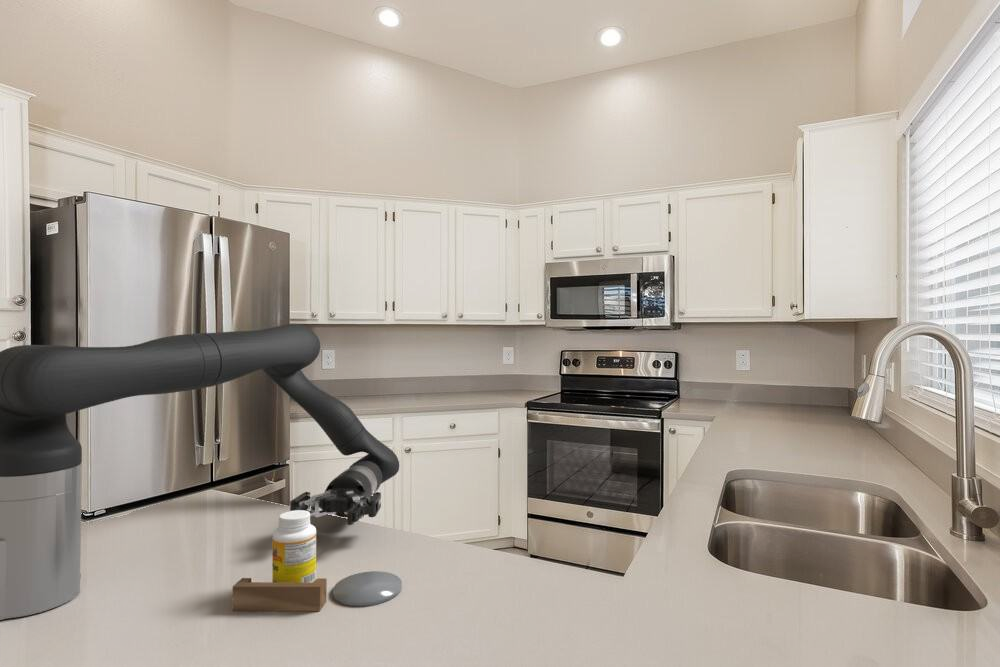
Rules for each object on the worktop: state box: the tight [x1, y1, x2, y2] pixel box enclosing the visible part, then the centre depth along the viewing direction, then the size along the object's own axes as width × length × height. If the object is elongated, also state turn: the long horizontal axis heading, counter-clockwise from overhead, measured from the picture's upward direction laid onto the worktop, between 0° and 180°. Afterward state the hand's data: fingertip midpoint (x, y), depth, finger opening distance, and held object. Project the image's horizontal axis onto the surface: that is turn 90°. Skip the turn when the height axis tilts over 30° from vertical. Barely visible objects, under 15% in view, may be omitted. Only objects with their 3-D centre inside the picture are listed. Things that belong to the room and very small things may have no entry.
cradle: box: [232, 577, 328, 612], centre depth 68 cm, size 2×11×3 cm, turn 89°
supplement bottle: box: [271, 510, 317, 583], centre depth 72 cm, size 6×6×10 cm
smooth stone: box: [332, 570, 403, 608], centre depth 72 cm, size 9×9×1 cm
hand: (322, 518), depth 83 cm, fingers open, 8 cm apart
